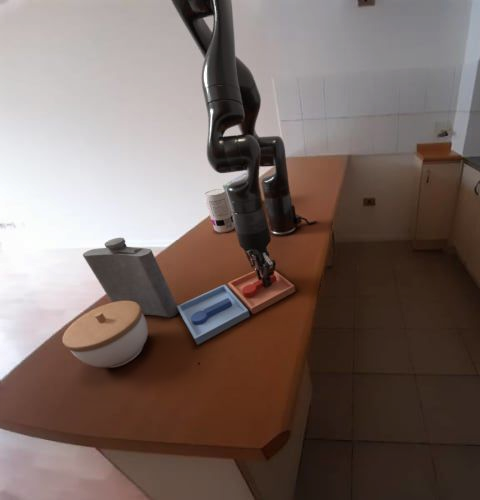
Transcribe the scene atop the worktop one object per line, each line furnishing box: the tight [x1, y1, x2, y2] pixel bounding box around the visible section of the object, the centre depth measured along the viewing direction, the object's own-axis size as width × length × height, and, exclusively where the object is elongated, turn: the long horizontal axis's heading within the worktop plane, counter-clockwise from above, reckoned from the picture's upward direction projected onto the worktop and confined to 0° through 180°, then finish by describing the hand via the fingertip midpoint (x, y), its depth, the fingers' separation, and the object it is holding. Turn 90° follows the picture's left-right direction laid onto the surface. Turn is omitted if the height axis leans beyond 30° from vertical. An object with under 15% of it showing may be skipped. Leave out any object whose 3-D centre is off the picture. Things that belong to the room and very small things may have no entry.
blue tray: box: [177, 284, 251, 345], centre depth 67 cm, size 12×14×2 cm
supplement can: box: [204, 188, 235, 234], centre depth 106 cm, size 8×8×15 cm
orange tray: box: [227, 270, 296, 315], centre depth 74 cm, size 12×14×2 cm
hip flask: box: [82, 237, 180, 318], centre depth 65 cm, size 16×4×20 cm, turn 83°
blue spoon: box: [191, 298, 232, 325], centre depth 66 cm, size 9×4×2 cm, turn 131°
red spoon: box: [242, 274, 277, 297], centre depth 73 cm, size 9×4×2 cm, turn 131°
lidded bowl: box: [61, 301, 149, 368], centre depth 56 cm, size 13×13×11 cm
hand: (265, 284), depth 74 cm, fingers closed on red spoon, 2 cm apart
